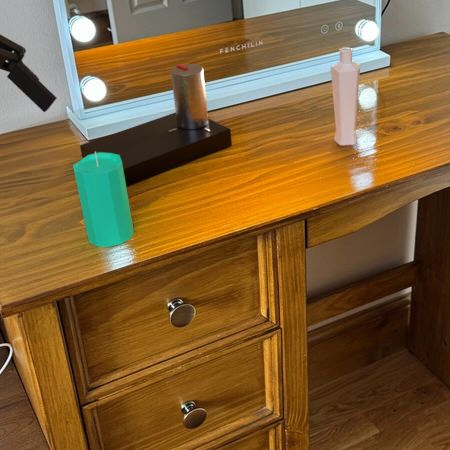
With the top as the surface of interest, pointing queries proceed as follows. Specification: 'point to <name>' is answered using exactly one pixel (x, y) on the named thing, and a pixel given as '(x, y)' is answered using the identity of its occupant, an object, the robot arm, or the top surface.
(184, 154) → the block
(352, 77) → the perfume bottle
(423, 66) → the top surface
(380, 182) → the top surface
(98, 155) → the candle
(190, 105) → the silver metal cylinder
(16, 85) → the robot arm
